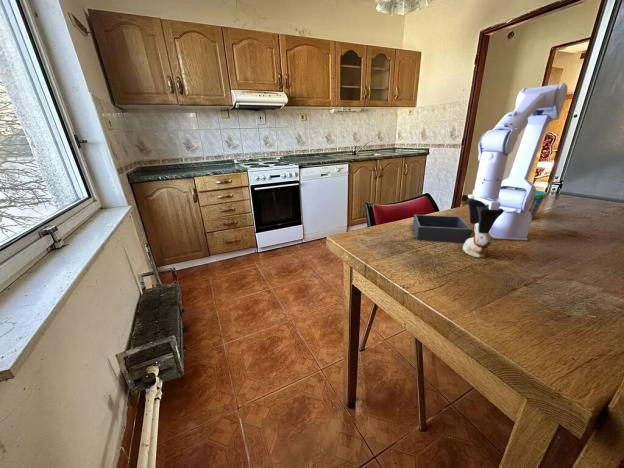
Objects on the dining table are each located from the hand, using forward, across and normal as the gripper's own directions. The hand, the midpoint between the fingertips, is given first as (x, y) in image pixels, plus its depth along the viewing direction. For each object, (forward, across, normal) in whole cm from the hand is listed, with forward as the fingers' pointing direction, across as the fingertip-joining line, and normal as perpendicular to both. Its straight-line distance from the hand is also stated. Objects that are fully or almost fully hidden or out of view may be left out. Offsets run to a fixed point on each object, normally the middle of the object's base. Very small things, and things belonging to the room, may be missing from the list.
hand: (478, 227), depth 72 cm
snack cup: (+8, -39, +28) cm, 49 cm away
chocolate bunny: (+8, 0, 0) cm, 8 cm away
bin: (+8, -14, -7) cm, 17 cm away
